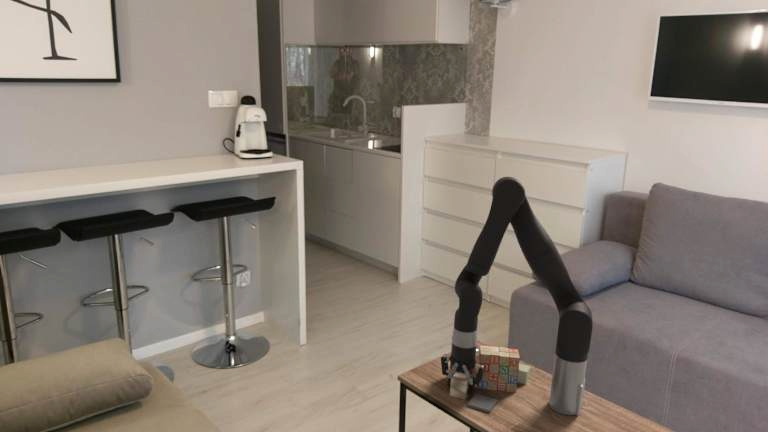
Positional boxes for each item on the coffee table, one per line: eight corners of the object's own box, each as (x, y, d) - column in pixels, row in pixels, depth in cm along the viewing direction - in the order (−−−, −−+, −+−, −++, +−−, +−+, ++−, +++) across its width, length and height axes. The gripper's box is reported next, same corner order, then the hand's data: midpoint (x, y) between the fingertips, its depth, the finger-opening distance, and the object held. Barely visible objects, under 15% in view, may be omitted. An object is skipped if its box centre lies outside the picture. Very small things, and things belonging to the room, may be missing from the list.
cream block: (470, 392, 185) (472, 375, 183) (464, 400, 180) (466, 382, 179) (455, 388, 187) (457, 371, 185) (449, 395, 183) (451, 377, 181)
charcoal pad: (497, 402, 180) (497, 399, 179) (489, 413, 174) (490, 410, 173) (475, 395, 183) (475, 393, 183) (467, 406, 177) (467, 403, 177)
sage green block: (529, 378, 194) (530, 366, 193) (525, 384, 191) (527, 372, 189) (516, 375, 196) (517, 362, 195) (512, 381, 193) (513, 368, 191)
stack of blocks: (448, 385, 188) (451, 350, 185) (449, 376, 194) (451, 342, 191) (516, 393, 185) (520, 357, 182) (514, 383, 192) (518, 348, 188)
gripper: (490, 342, 179) (486, 392, 183) (447, 331, 186) (443, 379, 190) (482, 352, 173) (478, 403, 177) (437, 340, 179) (434, 389, 183)
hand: (460, 390), depth 183 cm, fingers open, 5 cm apart
